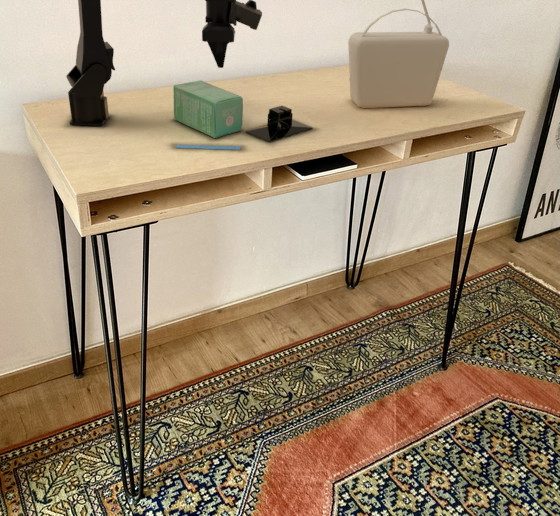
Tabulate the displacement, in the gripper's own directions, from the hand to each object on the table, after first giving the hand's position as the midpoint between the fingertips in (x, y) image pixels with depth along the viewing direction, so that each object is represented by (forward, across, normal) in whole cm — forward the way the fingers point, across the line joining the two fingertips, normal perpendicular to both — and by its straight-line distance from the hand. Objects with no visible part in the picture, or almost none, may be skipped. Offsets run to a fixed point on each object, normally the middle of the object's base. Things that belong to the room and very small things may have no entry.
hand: (220, 67), depth 133 cm
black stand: (+9, -14, -12) cm, 20 cm away
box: (+9, -12, +2) cm, 15 cm away
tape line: (+9, -24, +1) cm, 25 cm away
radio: (+9, +8, -39) cm, 41 cm away
